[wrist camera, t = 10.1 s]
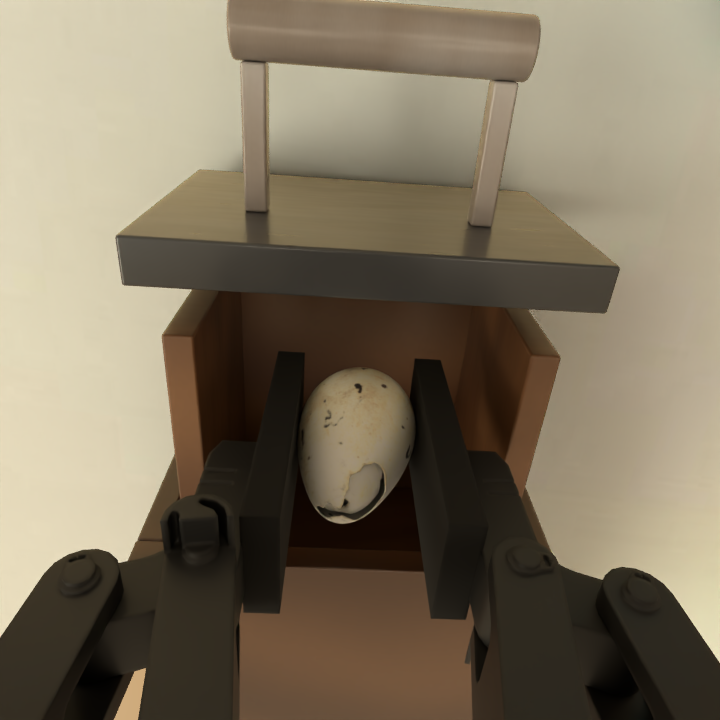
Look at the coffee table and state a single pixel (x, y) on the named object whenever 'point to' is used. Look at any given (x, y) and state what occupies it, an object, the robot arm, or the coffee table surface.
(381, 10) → the drawer
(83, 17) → the coffee table surface
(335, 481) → the egg
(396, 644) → the cabinet
